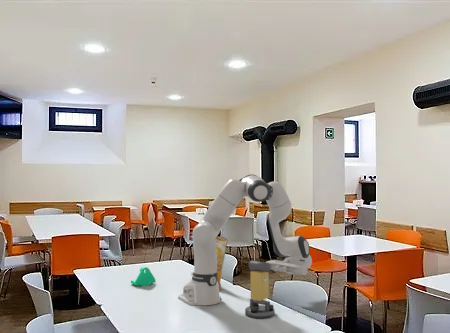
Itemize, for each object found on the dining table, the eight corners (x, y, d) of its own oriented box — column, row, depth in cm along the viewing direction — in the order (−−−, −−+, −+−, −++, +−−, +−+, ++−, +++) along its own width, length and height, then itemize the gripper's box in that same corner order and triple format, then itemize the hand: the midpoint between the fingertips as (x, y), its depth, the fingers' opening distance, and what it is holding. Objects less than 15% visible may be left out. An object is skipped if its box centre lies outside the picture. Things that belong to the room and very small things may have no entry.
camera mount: (149, 281, 249) (149, 263, 249) (155, 284, 243) (155, 266, 243) (130, 284, 242) (130, 266, 242) (135, 287, 236) (135, 268, 236)
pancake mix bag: (209, 282, 247) (209, 233, 248) (228, 289, 232) (228, 237, 232) (199, 283, 244) (200, 234, 244) (218, 290, 228) (218, 238, 229)
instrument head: (247, 303, 189) (246, 262, 189) (255, 300, 194) (255, 259, 195) (264, 307, 183) (263, 264, 184) (272, 303, 189) (272, 261, 189)
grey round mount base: (239, 314, 188) (239, 301, 188) (255, 307, 198) (255, 294, 198) (264, 320, 180) (264, 306, 180) (280, 313, 190) (280, 299, 190)
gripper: (274, 256, 219) (259, 259, 208) (310, 261, 207) (296, 266, 196) (273, 268, 219) (259, 272, 208) (310, 274, 207) (296, 279, 196)
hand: (277, 269), depth 202 cm, fingers closed
